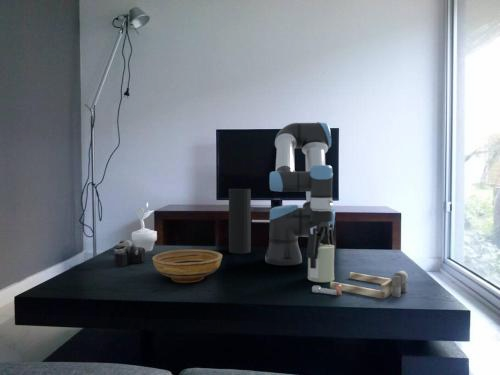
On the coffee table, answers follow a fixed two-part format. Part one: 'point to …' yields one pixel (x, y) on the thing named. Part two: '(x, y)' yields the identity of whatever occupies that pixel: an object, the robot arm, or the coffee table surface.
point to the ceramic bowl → (187, 264)
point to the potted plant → (144, 232)
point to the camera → (128, 254)
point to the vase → (239, 221)
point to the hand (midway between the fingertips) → (320, 274)
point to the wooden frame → (387, 285)
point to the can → (324, 264)
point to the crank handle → (328, 290)
